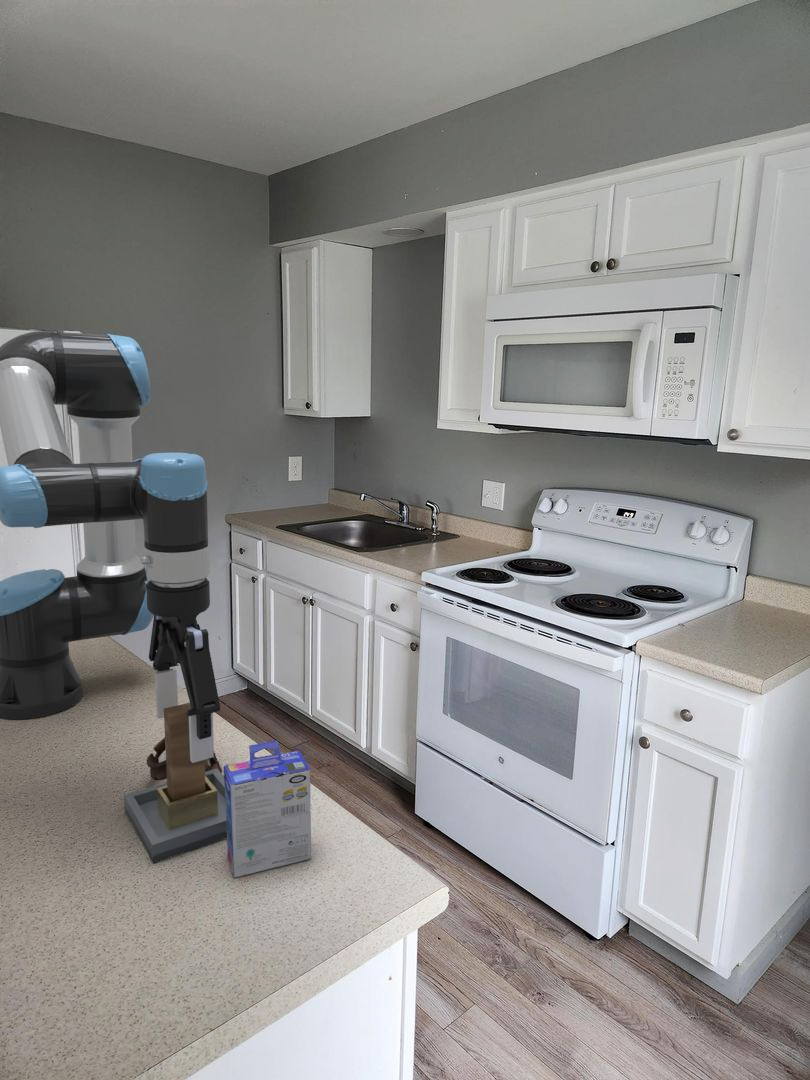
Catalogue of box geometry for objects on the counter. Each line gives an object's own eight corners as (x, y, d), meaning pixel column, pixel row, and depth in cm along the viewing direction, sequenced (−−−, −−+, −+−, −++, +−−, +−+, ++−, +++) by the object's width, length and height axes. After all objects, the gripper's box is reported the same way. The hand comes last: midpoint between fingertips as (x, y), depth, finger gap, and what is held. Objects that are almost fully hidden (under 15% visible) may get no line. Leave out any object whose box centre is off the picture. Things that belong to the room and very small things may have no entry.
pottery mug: (217, 799, 103) (184, 758, 100) (163, 818, 106) (129, 779, 103) (238, 739, 114) (209, 701, 111) (189, 758, 116) (159, 721, 113)
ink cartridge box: (301, 834, 95) (300, 731, 92) (314, 859, 90) (313, 752, 87) (224, 852, 91) (221, 745, 88) (233, 880, 86) (229, 767, 83)
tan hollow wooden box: (157, 812, 97) (156, 788, 96) (205, 797, 101) (204, 774, 100) (169, 830, 93) (168, 805, 93) (218, 814, 97) (217, 790, 96)
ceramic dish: (124, 811, 99) (123, 795, 98) (217, 784, 106) (216, 768, 106) (153, 863, 88) (152, 845, 88) (253, 828, 96) (253, 811, 95)
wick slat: (168, 813, 97) (163, 708, 94) (199, 803, 99) (195, 701, 96) (174, 823, 95) (169, 716, 92) (206, 813, 97) (202, 708, 94)
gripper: (120, 560, 98) (128, 705, 103) (180, 612, 78) (187, 789, 83) (175, 553, 102) (181, 693, 107) (246, 601, 83) (249, 771, 87)
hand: (183, 736), depth 95 cm, fingers open, 13 cm apart
